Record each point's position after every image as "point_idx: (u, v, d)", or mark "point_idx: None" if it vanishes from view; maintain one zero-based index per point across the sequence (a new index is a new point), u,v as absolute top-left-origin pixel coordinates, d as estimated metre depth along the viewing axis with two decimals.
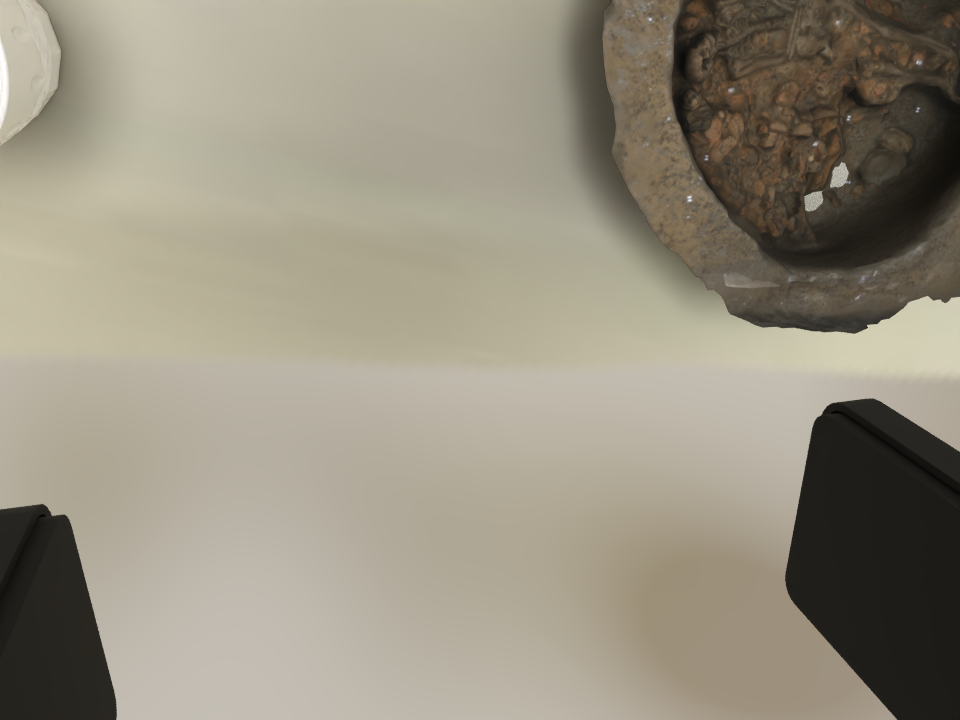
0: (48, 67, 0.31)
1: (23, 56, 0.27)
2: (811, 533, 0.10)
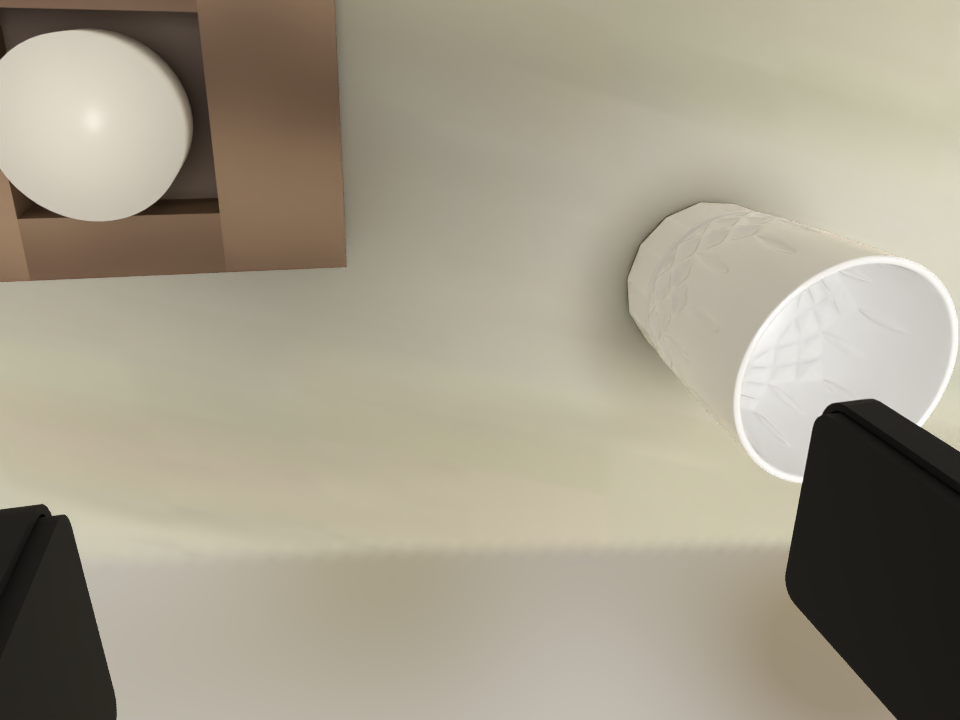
0: None
1: (901, 343, 0.28)
2: (811, 532, 0.11)
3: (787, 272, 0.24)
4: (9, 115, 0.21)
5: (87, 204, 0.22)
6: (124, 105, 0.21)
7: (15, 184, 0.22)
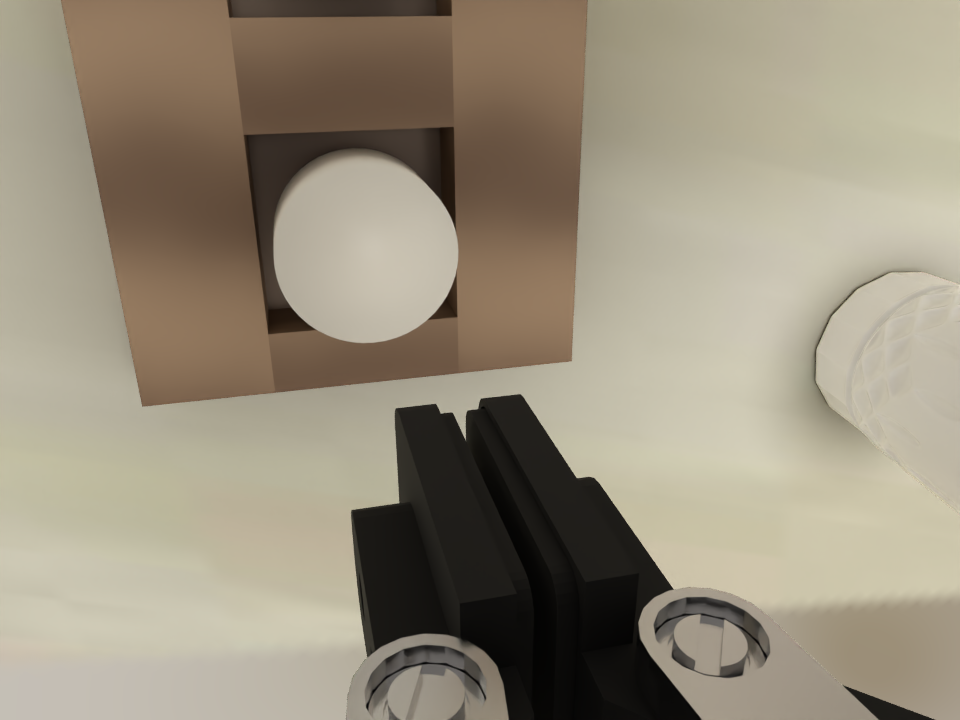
0: None
1: None
2: None
3: None
4: (299, 247, 0.21)
5: (362, 327, 0.22)
6: (406, 231, 0.21)
7: (298, 312, 0.22)
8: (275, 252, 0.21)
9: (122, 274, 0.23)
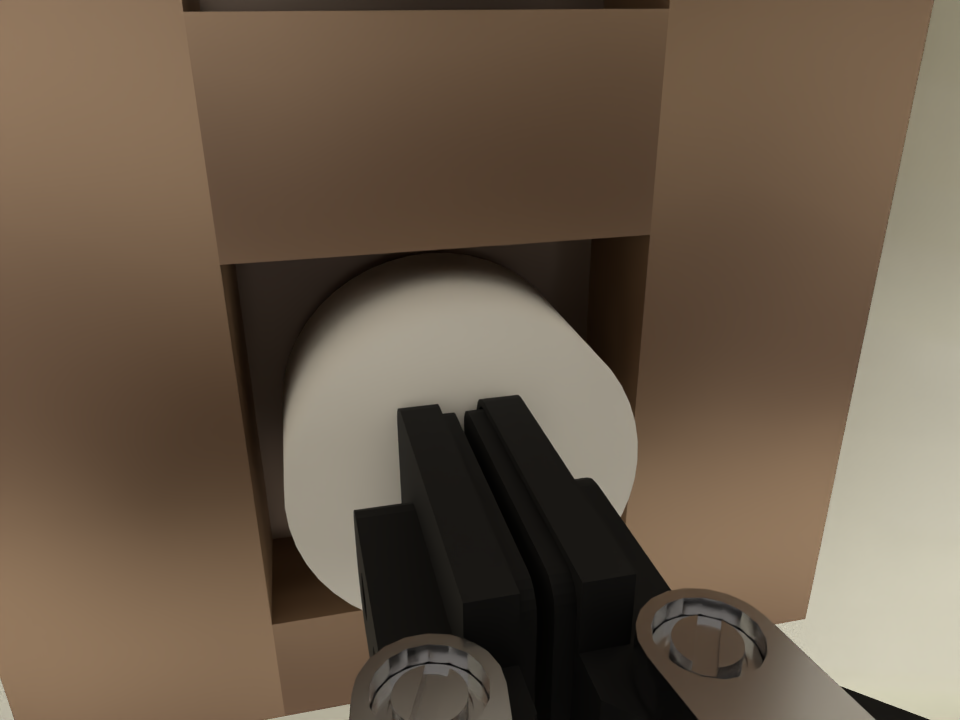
0: None
1: None
2: None
3: None
4: (335, 475, 0.10)
5: None
6: (545, 430, 0.11)
7: (331, 586, 0.11)
8: (287, 486, 0.10)
9: None
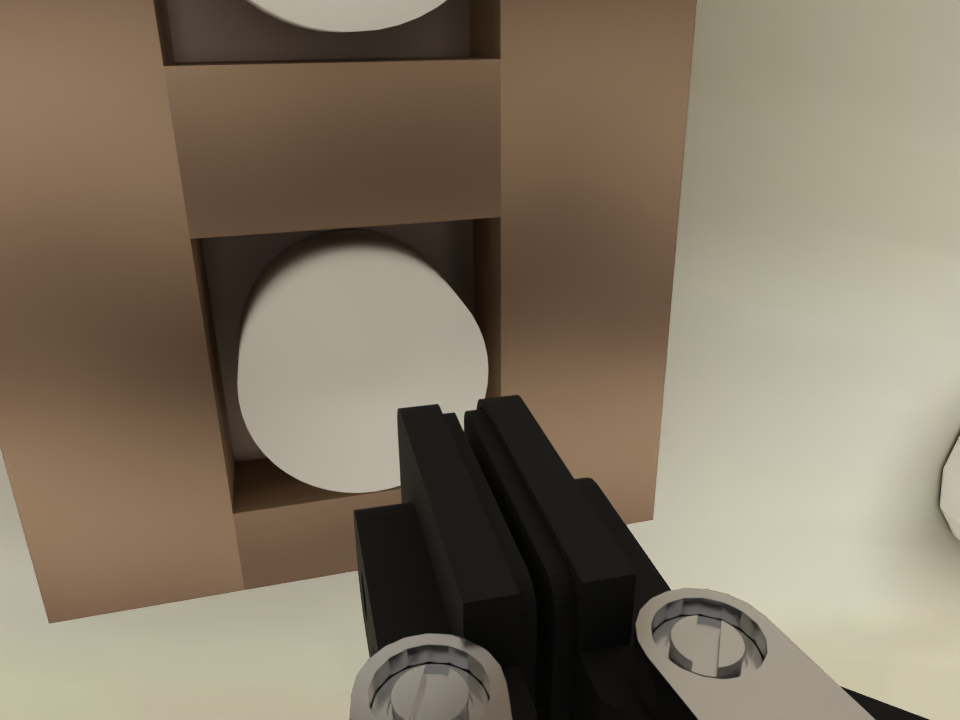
0: None
1: None
2: None
3: None
4: (273, 375, 0.15)
5: (360, 472, 0.17)
6: (419, 346, 0.16)
7: (273, 459, 0.16)
8: (240, 383, 0.15)
9: (10, 445, 0.15)
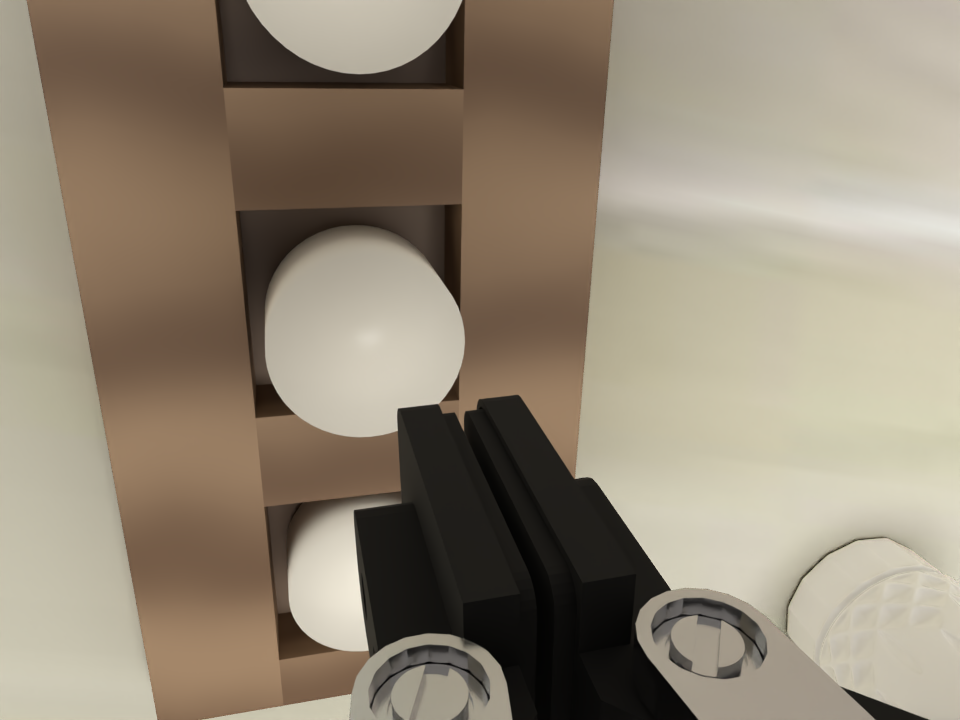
0: None
1: None
2: None
3: None
4: (310, 586, 0.24)
5: (362, 639, 0.26)
6: None
7: (308, 633, 0.25)
8: (290, 591, 0.24)
9: (146, 624, 0.24)
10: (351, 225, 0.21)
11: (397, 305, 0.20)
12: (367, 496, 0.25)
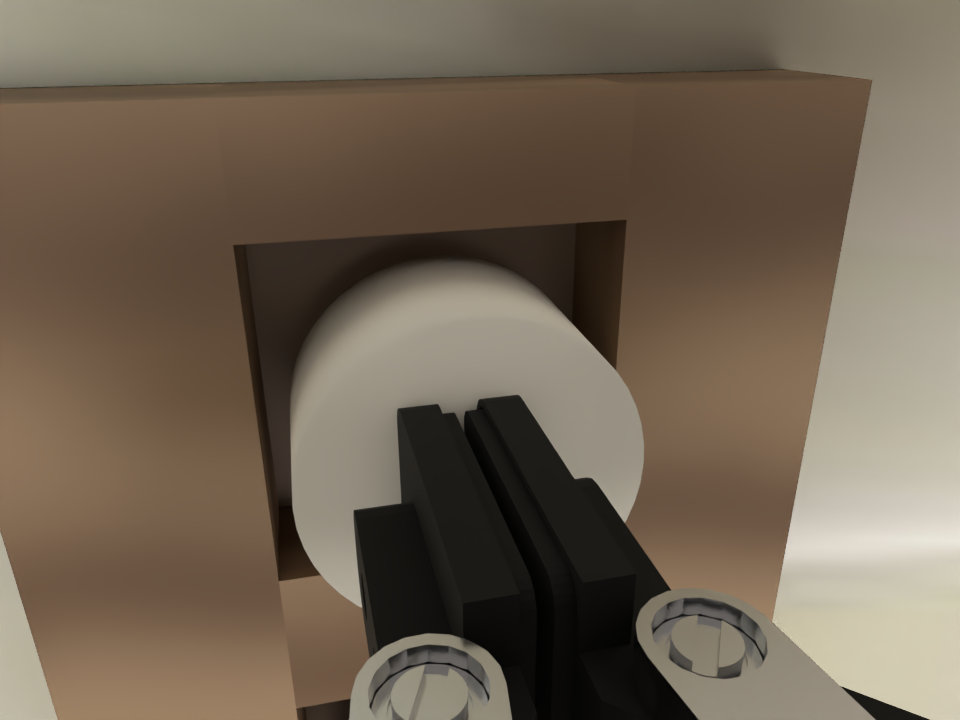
0: None
1: None
2: None
3: None
4: None
5: None
6: None
7: None
8: None
9: None
10: None
11: None
12: None
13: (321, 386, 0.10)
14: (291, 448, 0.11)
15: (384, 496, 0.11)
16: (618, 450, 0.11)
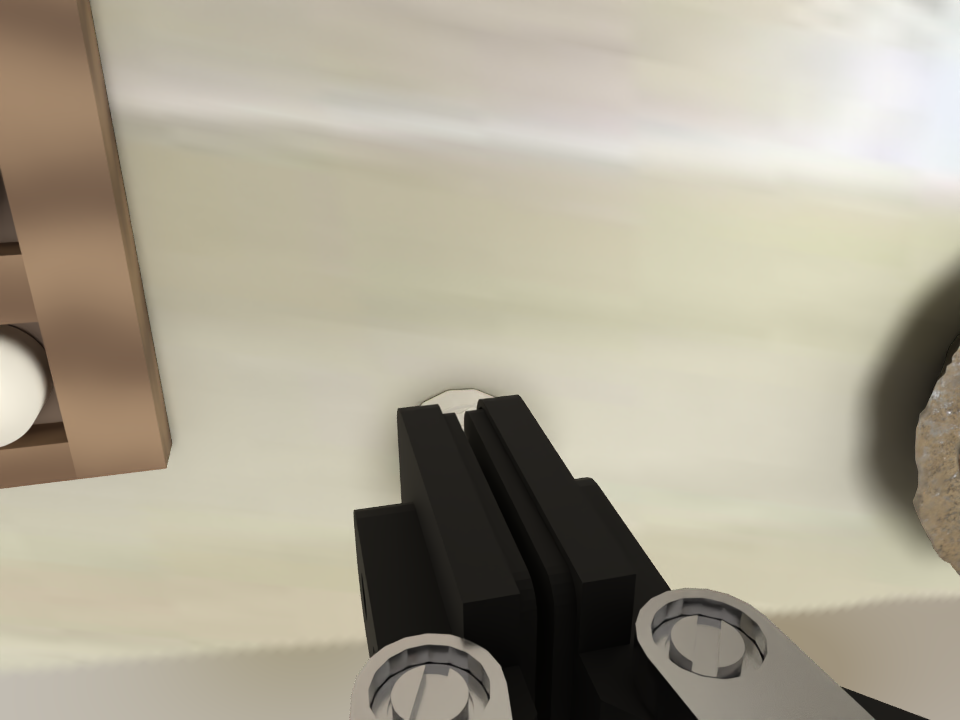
0: None
1: None
2: None
3: None
4: None
5: None
6: None
7: None
8: None
9: None
10: None
11: None
12: None
13: None
14: None
15: None
16: None
